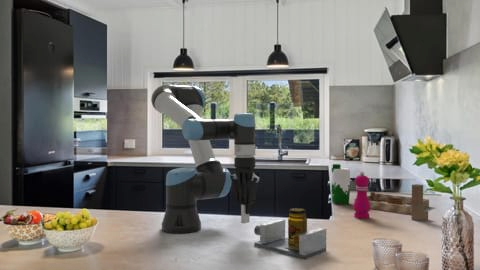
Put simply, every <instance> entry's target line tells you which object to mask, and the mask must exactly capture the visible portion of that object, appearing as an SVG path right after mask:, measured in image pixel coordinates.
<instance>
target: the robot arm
mask: <svg viewBox="0 0 480 270" xmlns="http://www.w3.org/2000/svg"><path fill="white" fill-rule="evenodd" d="M150 99H151V104H152V107H153V108H154V110H156V112H158V113H159V114H163V115H165V116H167V117H168V118H169V119H170V120H171V121H172V122H174V123H175V124H176V125H177V126H179V127H180V128H181V134H182V135H183V138H184V140H186V141H188V143H189V147H190V151H191V153H192V157H193V161H194V164H195V167H194V166H186V167H178V168H173V169H171V170H169V171H168V172H167V173H166V177H165V199H166V200H165V201H166V202H165V208H166V209H165V213H164V215H163V219H162V222H161V230H162V231H163V232H165V233H170V234H189V233H194V232H197V231H200V230H201V229H202V222H201V221H202V220H201V219H200V215H199V212H198V209H197V201H198V200H209V199H219V198H223V197H226V196H227V195H228V194H229V192H230V190H231V187H232V188H233V193H234V199H235V202H237V203H239V212H240V220H241V221H240V223H242V224H248V223H250V214H251V213H252V211H251V206H252V204H255V203H256V200H257V193H258V188H259V183H260V182H261V179H262V178H261V176H258V175H256V171H255V167H256V157H255V156H256V117H255V115H254V113H247V112H245V113H242V112H241V113H240V112H239V113H238V112H237V113H235V114H234V115H233V116H234V117H233V119H207V118H206V119H204V118H203V116H202V114H203V111H204V108H205V105H206V102H205V101H206V97H205V93H204V91H203V90H202V89H201V88H200V87H198V86H196V85H195V86H194V85H182V84H181V85H180V84H179V85H178V84H162V85H161V86H158V87H156V89H154V91H153V92H152V95H151V98H150ZM221 140H222V141H229V140H230V141H231V140H233V143H234V145H233V150H234V154H233V155H234V156H235V157H234V158H233V159H234V164H233V166H234V168H235V171H234V173H233V174H231V172H230V170H229V169H228V168H226V167H223V166H222V163H221V162H220V161H219V160H217V159H216V157H215V154H214V151H213V147H212V144H211V141H221Z"/></svg>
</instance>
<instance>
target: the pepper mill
mask: <svg viewBox="0 0 480 270" xmlns="http://www.w3.org/2000/svg"><path fill="white" fill-rule="evenodd" d="M354 183H355V185H356V186H355V189H356V196H355V197H356V198H355V199H356V200H355V202H353V205H352V208H353V210H354V211H355V212H354V214H353V215H354V216H353V217H354V218H356V219H362V220H364V219H369V218H370V213H369V212H370V211H371V210H372V209H371V207H370V203H369V200H368V198H367V196H368V190H369V184H370V178H369V177H368V176H367V175H365V172H364V171H360V172H359V175H357V176H356V177H355V179H354Z"/></svg>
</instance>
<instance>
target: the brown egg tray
mask: <svg viewBox="0 0 480 270" xmlns="http://www.w3.org/2000/svg"><path fill="white" fill-rule="evenodd" d="M367 198H368V200H369V203H370V207H371V209H370V210H377V211H384V212H391V213H397V214H404V215H405V214H406V215H410V214H411V215H412V196H411V197H410V196H402V195H396V194H395V195H394V194H385V193H375V198H374V201H372V198H371V195H370V194H369V195H367ZM387 198H399V199H402V204H404V205H408V206H404V205H397V204H389V203H387ZM355 200H356V198H354V202H355ZM379 201H380V202H379ZM354 202H353V203H354ZM428 207H430V199H427V198H423V209H424V210H425V209H426V208H428Z"/></svg>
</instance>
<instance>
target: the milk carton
mask: <svg viewBox="0 0 480 270" xmlns="http://www.w3.org/2000/svg"><path fill="white" fill-rule="evenodd" d="M330 182H331V183H330V184H331V189H330V190H331V191H330V192H331V202H332V203H333V204H334V205H350V197H351V195H350V193H351V169H350V168H348V167H341V164H339V163H333V164H332V167H331V181H330Z"/></svg>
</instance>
